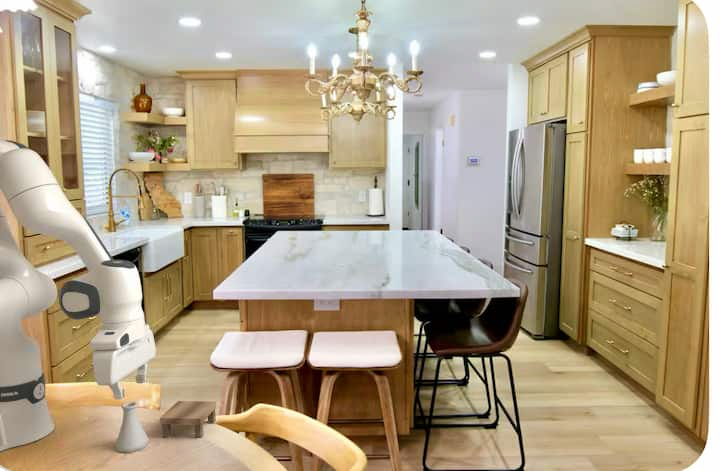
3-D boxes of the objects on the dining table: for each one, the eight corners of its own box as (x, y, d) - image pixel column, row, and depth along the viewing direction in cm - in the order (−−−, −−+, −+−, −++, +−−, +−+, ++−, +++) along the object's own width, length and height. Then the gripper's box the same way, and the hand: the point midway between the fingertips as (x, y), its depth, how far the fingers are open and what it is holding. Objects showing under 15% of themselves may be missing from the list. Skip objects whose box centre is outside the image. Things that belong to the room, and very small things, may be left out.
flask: (108, 449, 126) (105, 407, 125) (134, 436, 132) (131, 396, 131) (130, 456, 122) (127, 413, 121) (156, 442, 129) (153, 401, 128)
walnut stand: (161, 438, 131) (159, 417, 130) (179, 419, 140) (178, 400, 140) (201, 439, 129) (200, 418, 129) (217, 420, 139) (216, 401, 139)
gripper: (135, 319, 135) (140, 374, 136) (84, 344, 115) (91, 408, 116) (159, 319, 134) (164, 373, 136) (113, 344, 114) (119, 408, 115)
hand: (130, 390), depth 126 cm, fingers open, 8 cm apart
